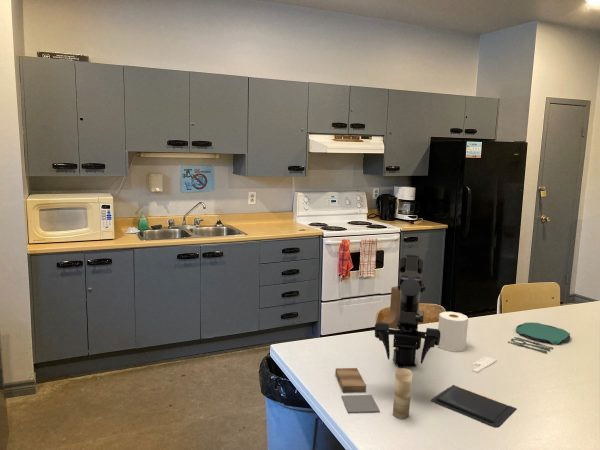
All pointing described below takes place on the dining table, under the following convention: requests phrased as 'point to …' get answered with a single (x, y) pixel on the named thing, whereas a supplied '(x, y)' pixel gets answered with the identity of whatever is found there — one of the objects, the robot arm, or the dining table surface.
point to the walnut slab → (350, 380)
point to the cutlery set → (540, 335)
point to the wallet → (474, 406)
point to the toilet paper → (453, 331)
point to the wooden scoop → (393, 308)
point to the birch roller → (402, 393)
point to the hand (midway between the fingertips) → (404, 361)
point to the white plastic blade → (483, 363)
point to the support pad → (360, 404)
